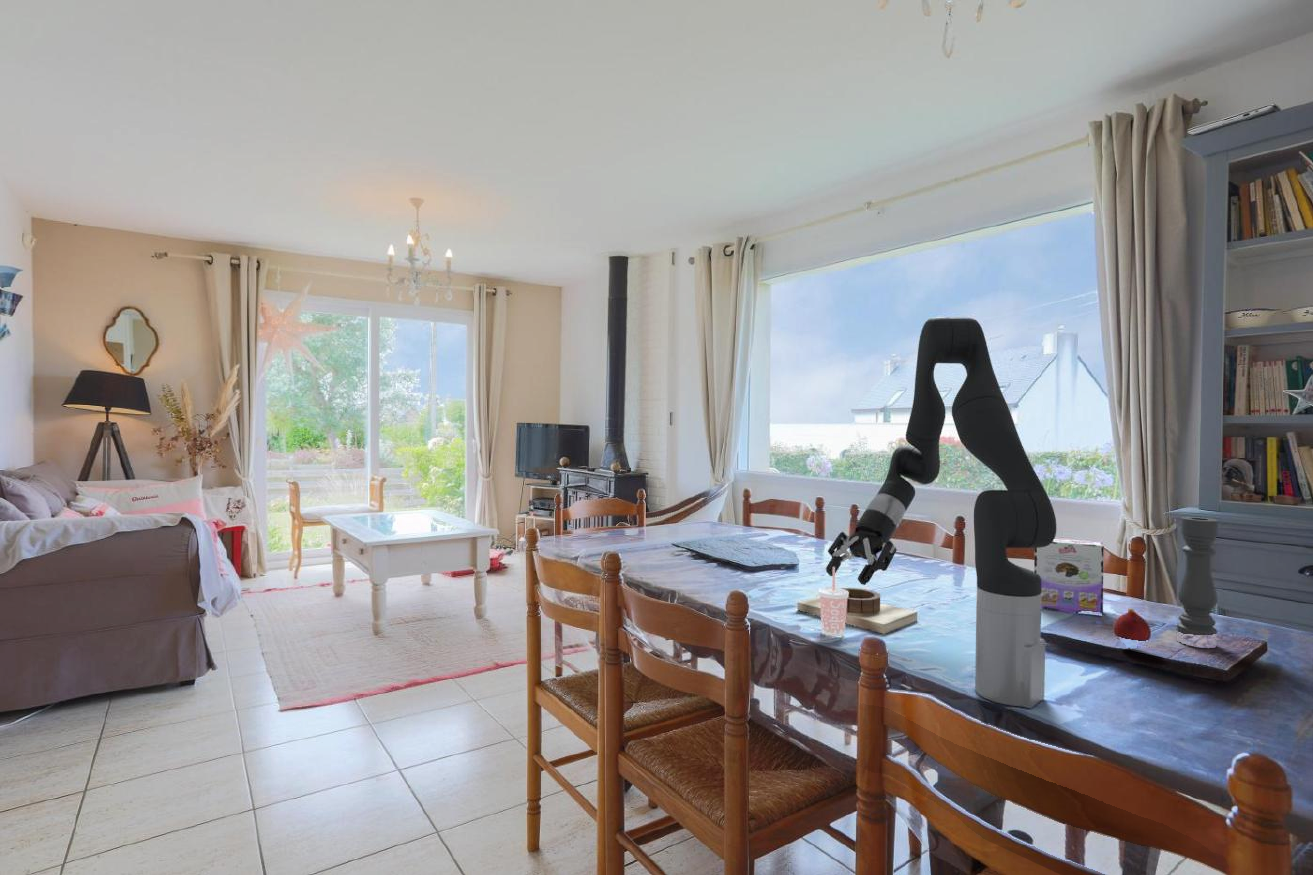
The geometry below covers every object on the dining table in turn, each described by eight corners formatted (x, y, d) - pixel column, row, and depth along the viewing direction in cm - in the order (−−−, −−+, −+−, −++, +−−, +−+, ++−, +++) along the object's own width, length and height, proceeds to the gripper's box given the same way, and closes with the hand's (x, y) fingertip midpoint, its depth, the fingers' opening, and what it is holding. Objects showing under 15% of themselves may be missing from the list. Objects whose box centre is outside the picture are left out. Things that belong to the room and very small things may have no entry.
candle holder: (1224, 649, 128) (1227, 521, 127) (1187, 647, 129) (1190, 520, 129) (1204, 639, 134) (1207, 517, 134) (1169, 637, 136) (1172, 516, 135)
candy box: (1102, 611, 154) (1103, 541, 154) (1103, 617, 149) (1104, 545, 149) (1034, 602, 161) (1035, 535, 161) (1032, 608, 156) (1034, 539, 156)
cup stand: (917, 620, 146) (917, 598, 146) (884, 634, 137) (884, 610, 137) (832, 600, 163) (832, 579, 163) (797, 610, 154) (797, 589, 154)
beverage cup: (816, 636, 135) (817, 569, 135) (819, 627, 141) (820, 562, 141) (847, 640, 133) (848, 571, 133) (849, 631, 139) (850, 565, 139)
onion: (1152, 649, 128) (1152, 608, 128) (1147, 657, 124) (1148, 614, 124) (1116, 642, 132) (1116, 602, 132) (1110, 649, 128) (1111, 608, 128)
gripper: (847, 504, 149) (810, 560, 143) (901, 512, 137) (863, 573, 131) (862, 525, 152) (827, 581, 146) (916, 535, 140) (880, 596, 134)
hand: (844, 577), depth 139 cm, fingers open, 8 cm apart
